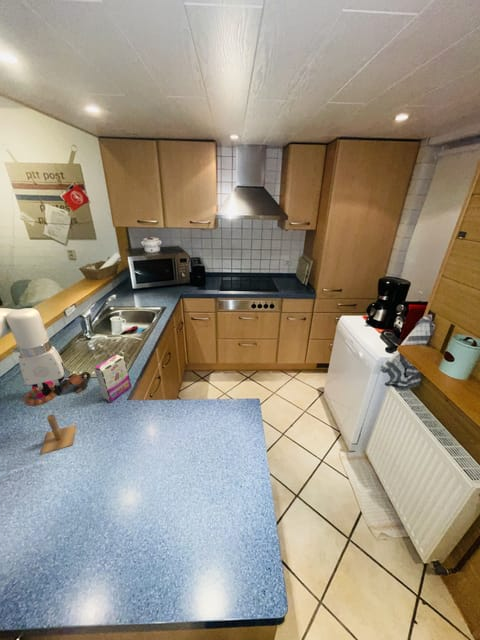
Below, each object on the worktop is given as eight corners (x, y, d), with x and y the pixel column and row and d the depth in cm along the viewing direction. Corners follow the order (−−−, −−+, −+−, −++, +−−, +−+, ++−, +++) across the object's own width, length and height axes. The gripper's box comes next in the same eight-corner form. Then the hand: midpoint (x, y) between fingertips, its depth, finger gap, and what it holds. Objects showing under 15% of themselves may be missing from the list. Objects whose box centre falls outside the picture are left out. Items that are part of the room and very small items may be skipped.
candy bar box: (123, 383, 115) (116, 353, 108) (131, 387, 113) (125, 356, 106) (102, 399, 105) (93, 367, 98) (110, 403, 103) (101, 370, 97)
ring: (21, 411, 78) (18, 406, 77) (29, 392, 85) (27, 387, 85) (56, 402, 81) (54, 397, 81) (61, 385, 89) (59, 380, 88)
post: (41, 456, 81) (29, 431, 77) (48, 435, 89) (37, 411, 84) (73, 447, 85) (64, 422, 80) (77, 427, 92) (68, 403, 87)
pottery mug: (74, 400, 105) (59, 386, 102) (68, 399, 112) (54, 386, 109) (98, 379, 113) (85, 366, 110) (92, 379, 119) (79, 366, 117)
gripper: (-3, 360, 71) (21, 409, 79) (64, 348, 77) (80, 395, 85) (7, 347, 77) (28, 394, 85) (68, 337, 83) (82, 381, 91)
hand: (54, 394), depth 85 cm, fingers closed on ring, 2 cm apart
